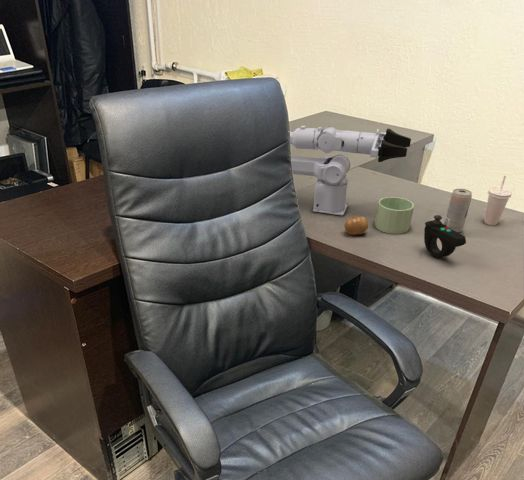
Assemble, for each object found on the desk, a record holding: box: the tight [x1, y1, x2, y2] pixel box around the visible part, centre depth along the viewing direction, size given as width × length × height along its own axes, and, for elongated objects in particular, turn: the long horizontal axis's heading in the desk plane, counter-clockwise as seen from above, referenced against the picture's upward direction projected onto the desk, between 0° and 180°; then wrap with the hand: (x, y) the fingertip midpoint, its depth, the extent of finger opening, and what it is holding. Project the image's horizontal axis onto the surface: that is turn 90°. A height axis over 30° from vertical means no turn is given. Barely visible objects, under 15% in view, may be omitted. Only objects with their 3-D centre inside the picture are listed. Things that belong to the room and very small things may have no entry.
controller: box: [423, 214, 467, 259], centre depth 137 cm, size 4×12×10 cm, turn 30°
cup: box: [374, 196, 415, 235], centre depth 152 cm, size 10×10×7 cm
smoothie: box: [484, 175, 513, 226], centre depth 153 cm, size 6×6×14 cm
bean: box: [343, 215, 369, 236], centre depth 148 cm, size 7×5×5 cm
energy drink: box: [443, 188, 473, 235], centre depth 148 cm, size 5×5×12 cm
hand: (408, 147), depth 145 cm, fingers open, 7 cm apart
